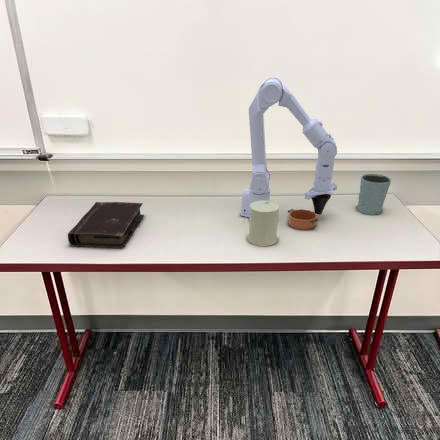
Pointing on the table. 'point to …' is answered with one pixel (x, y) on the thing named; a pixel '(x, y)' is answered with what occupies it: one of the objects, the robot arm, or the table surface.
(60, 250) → the table surface
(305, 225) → the pan
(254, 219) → the can
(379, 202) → the grey cylinder
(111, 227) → the diary
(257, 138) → the robot arm
